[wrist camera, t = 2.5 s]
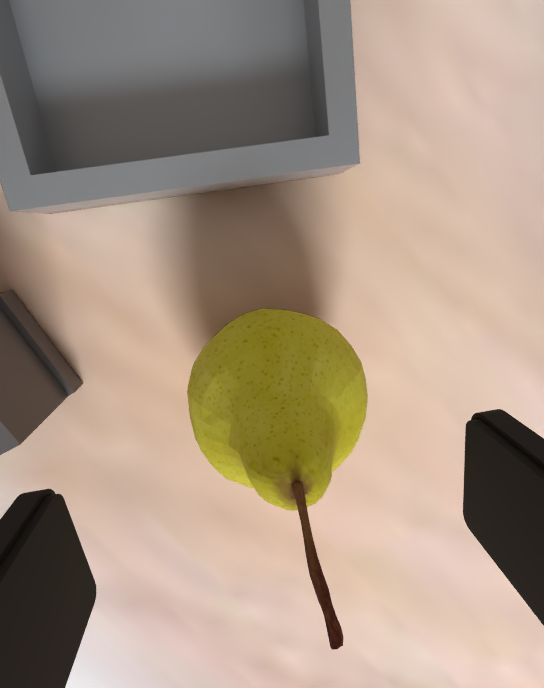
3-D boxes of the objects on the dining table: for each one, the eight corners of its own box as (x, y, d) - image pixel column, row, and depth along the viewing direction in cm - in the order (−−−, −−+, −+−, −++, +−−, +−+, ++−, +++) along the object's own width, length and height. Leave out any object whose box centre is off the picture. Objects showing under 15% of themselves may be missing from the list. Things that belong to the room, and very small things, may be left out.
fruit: (185, 304, 17) (83, 458, 6) (334, 282, 18) (506, 391, 6) (212, 438, 20) (175, 738, 8) (345, 417, 20) (489, 680, 8)
